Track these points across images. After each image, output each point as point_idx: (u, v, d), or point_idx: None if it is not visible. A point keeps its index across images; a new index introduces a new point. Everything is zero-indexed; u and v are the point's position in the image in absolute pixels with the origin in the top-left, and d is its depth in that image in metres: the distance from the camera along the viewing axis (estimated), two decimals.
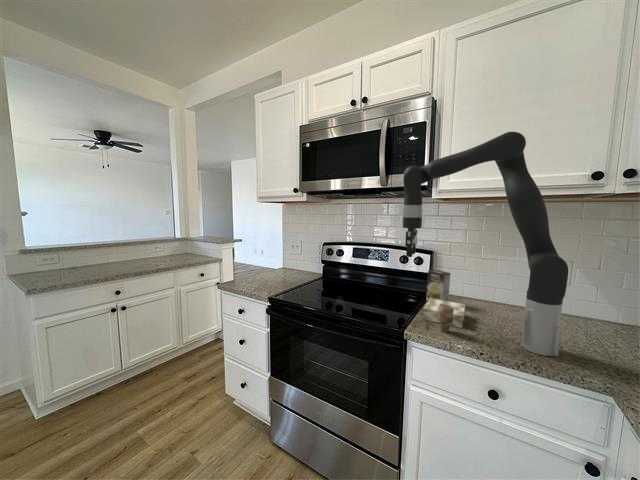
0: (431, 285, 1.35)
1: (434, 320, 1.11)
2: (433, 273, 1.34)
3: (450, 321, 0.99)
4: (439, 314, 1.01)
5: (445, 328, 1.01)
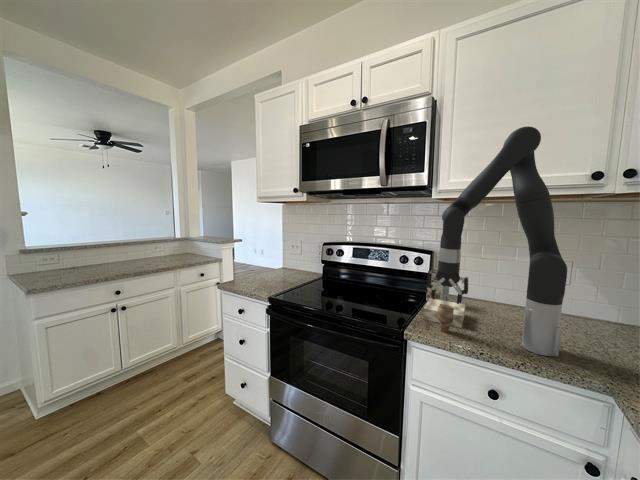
0: None
1: (434, 320, 1.11)
2: None
3: (450, 321, 0.99)
4: (439, 314, 1.01)
5: (445, 328, 1.01)
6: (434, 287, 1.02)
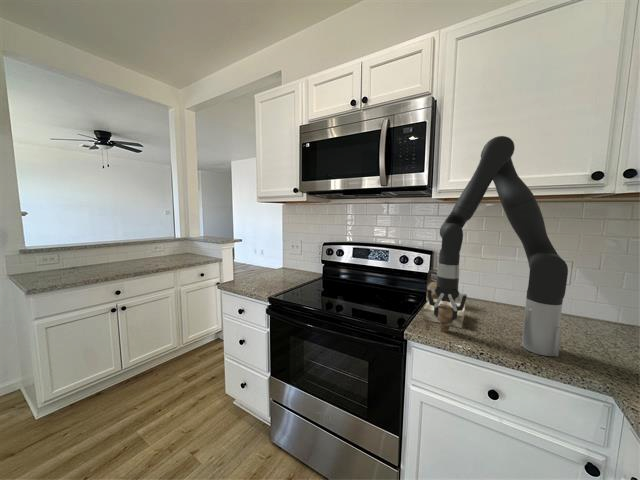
0: (431, 285, 1.35)
1: (434, 320, 1.11)
2: (433, 273, 1.34)
3: (450, 321, 1.00)
4: (439, 314, 1.01)
5: (445, 328, 1.01)
6: (436, 304, 1.02)
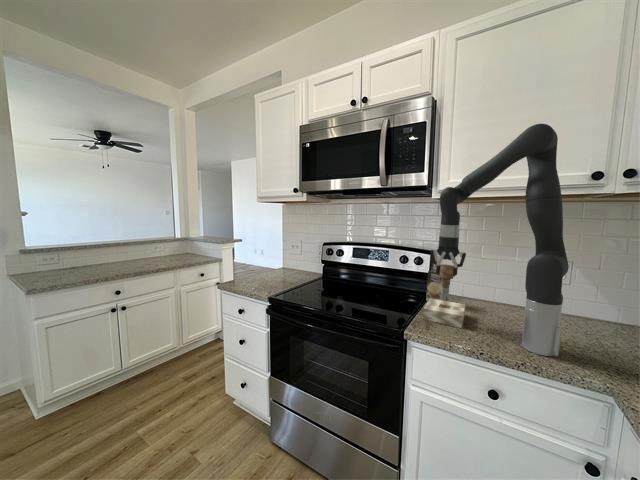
0: (431, 285, 1.35)
1: (434, 320, 1.11)
2: (433, 273, 1.34)
3: (451, 277, 1.09)
4: (441, 271, 1.11)
5: (446, 284, 1.11)
6: (438, 263, 1.12)
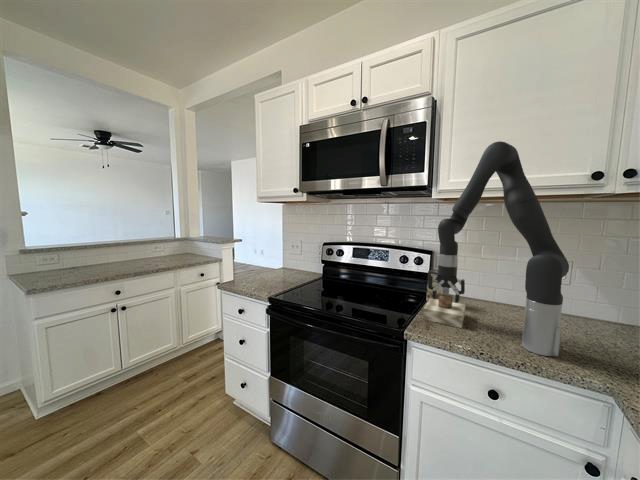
0: None
1: (434, 320, 1.11)
2: (433, 273, 1.34)
3: (449, 307, 1.13)
4: (439, 301, 1.15)
5: None
6: (435, 288, 1.16)
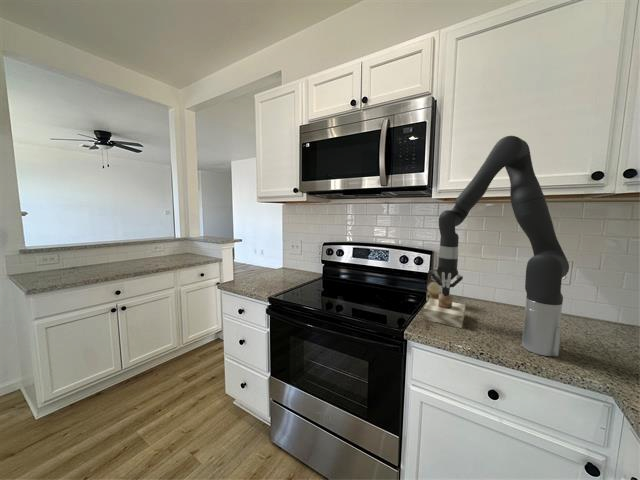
0: (431, 285, 1.35)
1: (434, 320, 1.11)
2: None
3: (449, 307, 1.13)
4: (439, 301, 1.15)
5: None
6: (443, 284, 1.14)
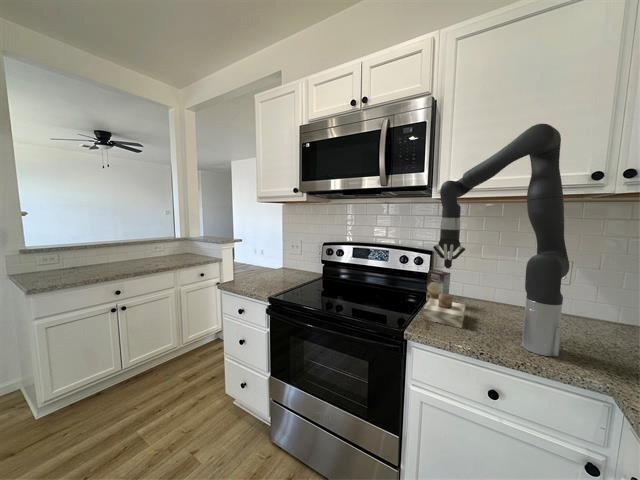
0: (431, 285, 1.35)
1: (434, 320, 1.11)
2: (433, 273, 1.34)
3: (449, 307, 1.13)
4: (439, 301, 1.15)
5: None
6: (445, 256, 1.13)
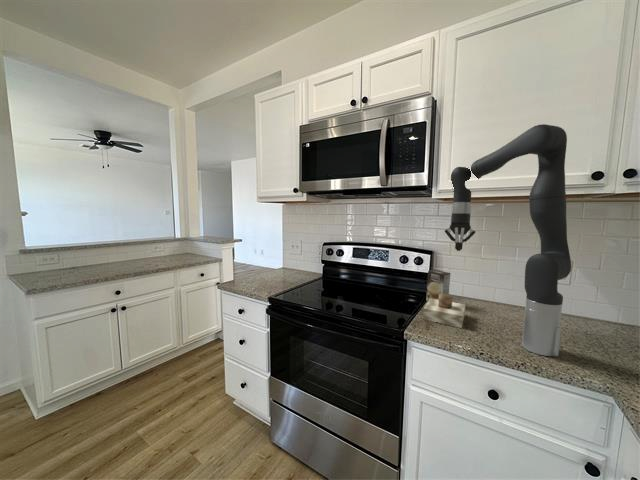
0: (431, 285, 1.35)
1: (434, 320, 1.11)
2: (433, 273, 1.34)
3: (449, 307, 1.13)
4: (439, 301, 1.15)
5: None
6: (456, 239, 1.19)
